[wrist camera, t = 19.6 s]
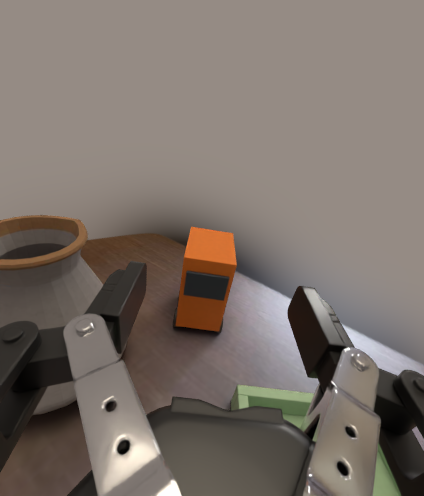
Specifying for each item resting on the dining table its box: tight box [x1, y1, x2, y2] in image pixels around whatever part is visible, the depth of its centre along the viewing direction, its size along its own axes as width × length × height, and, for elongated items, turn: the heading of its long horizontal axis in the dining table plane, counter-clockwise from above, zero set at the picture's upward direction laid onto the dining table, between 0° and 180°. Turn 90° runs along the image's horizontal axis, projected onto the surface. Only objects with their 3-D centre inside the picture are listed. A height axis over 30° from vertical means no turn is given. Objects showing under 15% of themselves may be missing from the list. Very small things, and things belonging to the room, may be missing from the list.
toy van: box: [173, 227, 237, 333], centre depth 26 cm, size 7×5×10 cm
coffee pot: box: [0, 215, 128, 415], centre depth 19 cm, size 21×12×15 cm, turn 63°
